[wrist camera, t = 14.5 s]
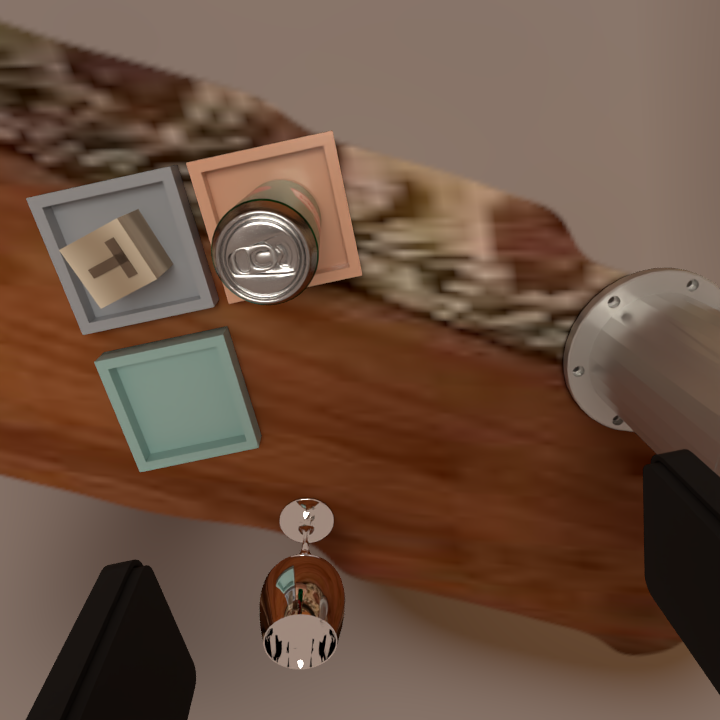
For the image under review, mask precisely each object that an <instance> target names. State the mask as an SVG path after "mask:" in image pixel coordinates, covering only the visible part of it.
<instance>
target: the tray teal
mask: <svg viewBox="0 0 720 720" xmlns="http://www.w3.org/2000/svg"><path fill="white" fill-rule="evenodd" d="M94 363H95V365H96V368H97V370H98V372H99V375H100V377H101V380H102V382H103V385H104V387H105V389H106V392H107V394H108V397H109V399H110V401H111V404H112V406H113V409H114V411H115V413H116V416H117V418H118V421H119V423H120V425H121V428H122V430H123V433H124V435H125V437H126V440H127V442H128V445H129V447H130V449H131V452H132V454H133V457H134V459H135V461H136V464H137V466H138V469H139V471H140V472H143V471H148V470H153V469H158V468H163V467H168V466H173V465H177V464H182V463H187V462H192V461H197V460H202V459H207V458H211V457H216V456H221V455H226V454H231V453H236V452H240V451H245V450H250V449H255V448H259V444H260V440H261V433H260V430H259V426H258V423H257V420H256V417H255V413H254V410H253V407H252V404H251V401H250V397H249V394H248V391H247V388H246V384H245V381H244V378H243V375H242V372H241V368H240V365H239V362H238V359H237V355H236V352H235V349H234V346H233V343H232V339H231V336H230V333H229V330H228V326H226V327H221V328H217V329H212V330H207V331H202V332H198V333H193V334H188V335H184V336H179V337H174V338H170V339H165V340H160V341H155V342H151V343H146V344H141V345H137V346H132V347H127V348H123V349H118V350H113V351H108V352H104V353H103V354H102V355H101V356H100V357H99V358H98V359H97V360H96V361H95V362H94Z"/></svg>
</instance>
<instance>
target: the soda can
mask: <svg viewBox="0 0 720 720" xmlns="http://www.w3.org/2000/svg"><path fill="white" fill-rule="evenodd" d="M320 235H321V213H320V210H319V207H318V204H317V202H316V201H315V199H314V198H313V196H312V195H311V194H310V193H309V192H308V191H307V190H306V189H305V188H304V187H302V186H300V185H299V184H297V183H294V182H292V181H287V180H272V181H268V182H265V183H263V184H261V185H260V186H258V187H257V188H255V189H254V190H253V191H252V192H250V193H249V194H248V195H247V196H246V197H244V198H243V199H242V200H241V201H240V202H238V203H237V204H236V205H235V206H234V207H232V208H231V209H230V210H229V211H228V212H227V213H226V214H225V215H224V216H223V217H222V218H221V220H220V221H219V223H218V224H217V226H216V228H215V231H214V234H213V237H212V244H211V256H212V261H213V265H214V268H215V270H216V273H217V274H218V276H219V278H220V280H221V281H222V282H223V284H224V285H225V286H226V287H227V288H228V289H229V290H230V291H231V292H232V293H234V294H235V295H236V296H238V297H240V298H241V299H243V300H245V301H248V302H251V303H254V304H259V305H276V304H281V303H284V302H287V301H289V300H292V299H293V298H295V297H297V296H298V295H300V294H301V293H302V292H303V291H304V290H305V289H306V288H307V287H308V285H309V284H310V283H311V281H312V279H313V277H314V275H315V273H316V270H317V266H318V261H319V249H320Z"/></svg>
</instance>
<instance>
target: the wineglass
mask: <svg viewBox="0 0 720 720" xmlns="http://www.w3.org/2000/svg"><path fill="white" fill-rule="evenodd" d="M279 522H280V527H281V529H282V531H283V533H284V534H285V535H286V536H287V537H288V538H290V539H292V540H294V541H296V542H300V543H303V546H302V549H301V552H300V554H299V555H294V556H290V557H288V558H285V559H283V560H282V561H280V562H279V563H278V564H276V565H275V566H274V567H273V568H272V569H271V571H270V572H269V574H268V575H267V577H266V579H265V581H264V584H263V587H262V590H261V594H260V602H259V617H260V629H261V635H262V640H263V645H264V649H265V652H266V653H267V655H268V656H269V657H270V658H271V659H272V660H273V661H274V662H276V663H277V664H279V665H281V666H284V667H287V668H291V669H308V668H313V667H316V666H318V665H321V664H322V663H324V662H326V661H327V660H328V659H329V658H330V657H331V656H332V655H333V654H334V652H335V650H336V647H337V644H338V641H339V637H340V633H341V629H342V625H343V620H344V612H345V593H344V588H343V584H342V581H341V578H340V576H339V574H338V572H337V571H336V569H335V568H334V567H333V566H332V565H331V564H330V563H329V562H328V561H326V560H324V559H322V558H320V557H317V556H315V555H311V553H310V552H309V544H308V543H313V542H317V541H319V540H321V539H323V538H325V537H326V536H327V535H328V534H329V533H330V532H331V530H332V528H333V524H334V516H333V513H332V511H331V509H330V508H329V507H328V506H327V505H326V504H325V503H323V502H322V501H320V500H317V499H313V498H301V499H297V500H294V501H292V502H290V503H289V504H288V505H286V506H285V507H284V509H283V510H282V512H281V514H280V519H279Z"/></svg>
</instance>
